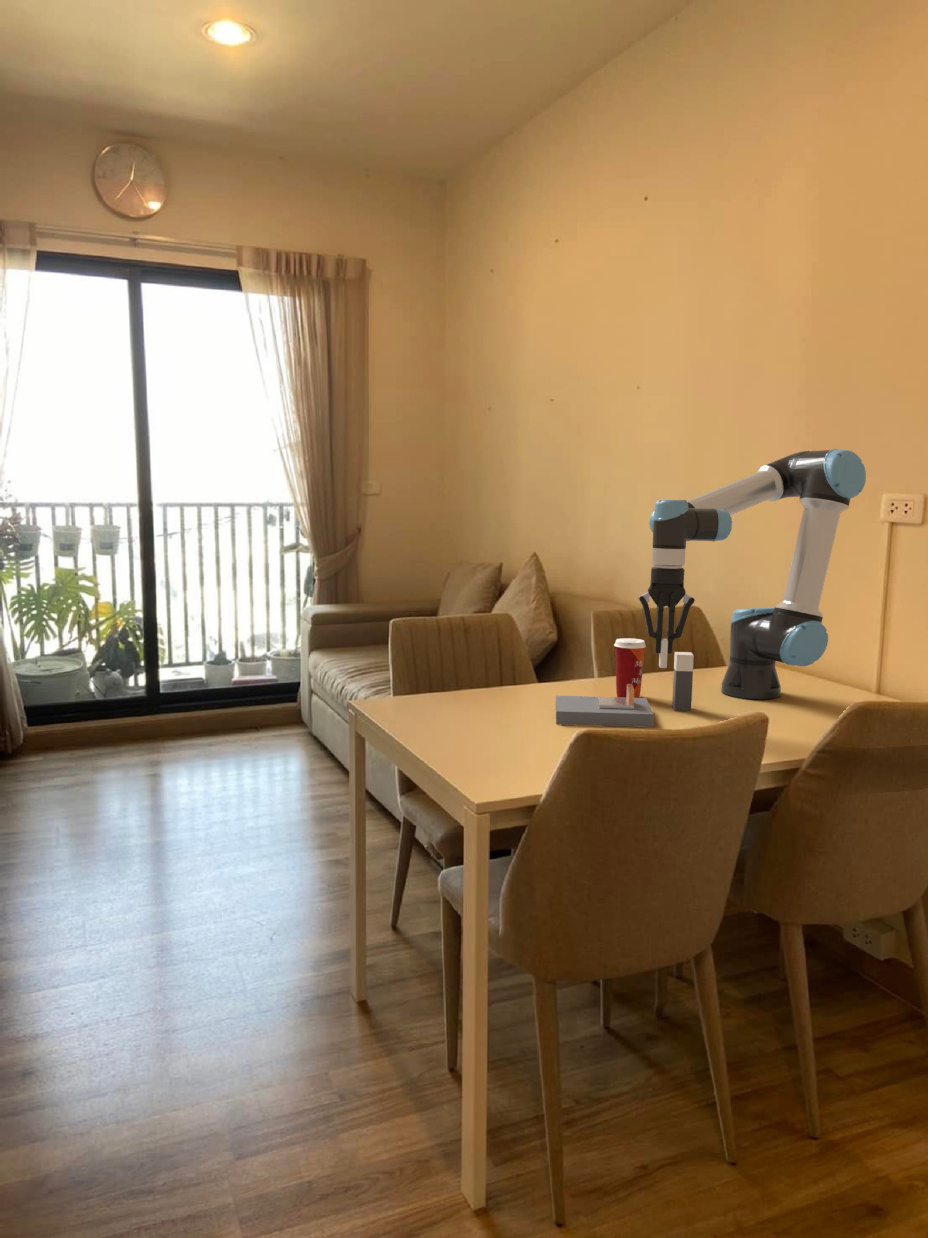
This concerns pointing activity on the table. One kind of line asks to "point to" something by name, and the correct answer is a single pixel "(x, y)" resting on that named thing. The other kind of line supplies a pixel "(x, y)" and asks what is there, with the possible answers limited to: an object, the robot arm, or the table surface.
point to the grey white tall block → (682, 681)
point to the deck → (601, 712)
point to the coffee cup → (629, 665)
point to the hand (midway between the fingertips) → (662, 666)
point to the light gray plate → (618, 700)
